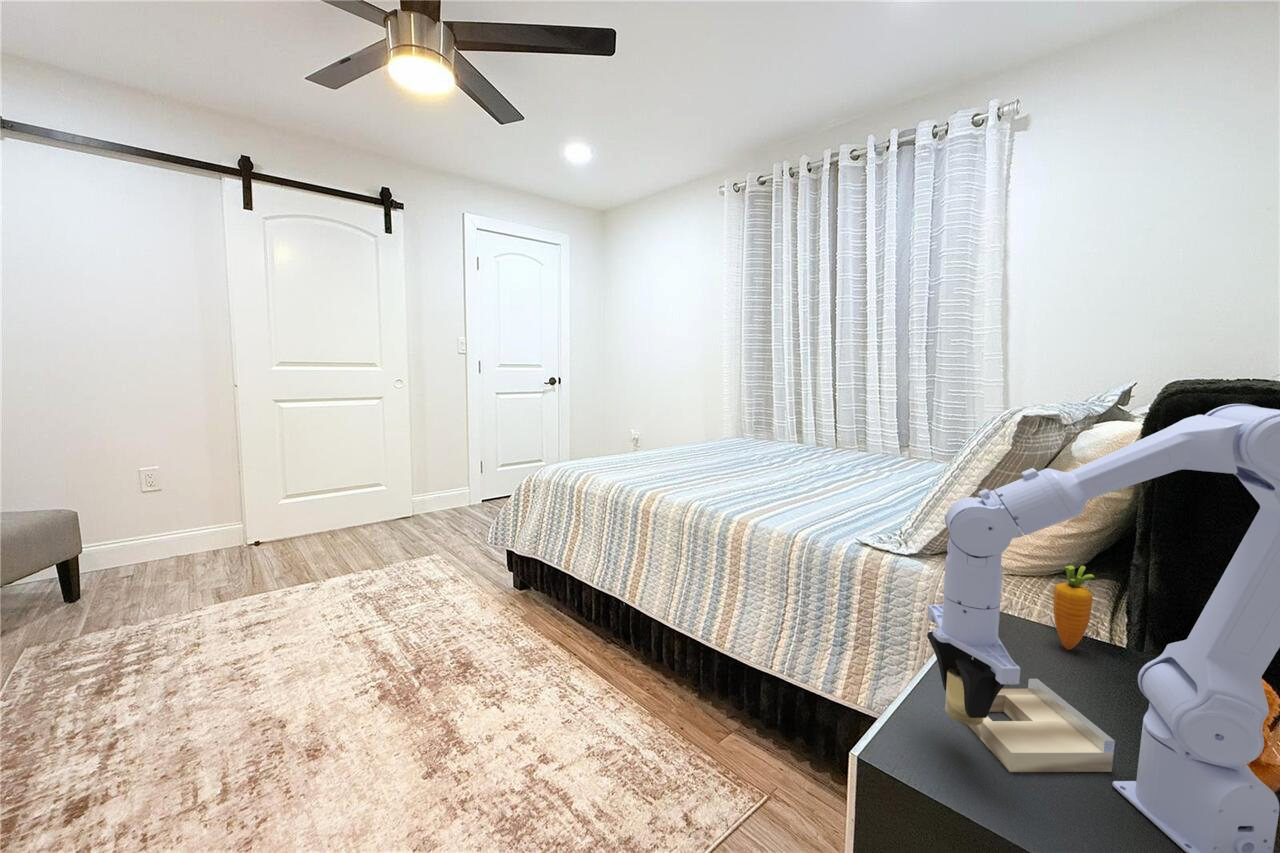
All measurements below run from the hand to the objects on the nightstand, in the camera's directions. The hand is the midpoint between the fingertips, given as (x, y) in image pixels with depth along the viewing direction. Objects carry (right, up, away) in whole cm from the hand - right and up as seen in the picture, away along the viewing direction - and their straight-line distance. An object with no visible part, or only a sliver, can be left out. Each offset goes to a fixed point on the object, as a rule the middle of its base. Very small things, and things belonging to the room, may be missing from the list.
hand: (964, 703), depth 63 cm
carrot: (+32, -4, +23) cm, 40 cm away
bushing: (0, -1, 0) cm, 1 cm away
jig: (+10, -6, +4) cm, 12 cm away
